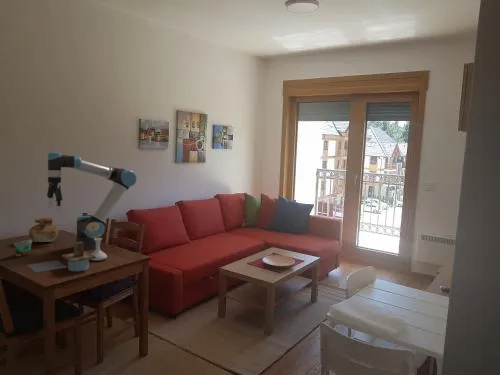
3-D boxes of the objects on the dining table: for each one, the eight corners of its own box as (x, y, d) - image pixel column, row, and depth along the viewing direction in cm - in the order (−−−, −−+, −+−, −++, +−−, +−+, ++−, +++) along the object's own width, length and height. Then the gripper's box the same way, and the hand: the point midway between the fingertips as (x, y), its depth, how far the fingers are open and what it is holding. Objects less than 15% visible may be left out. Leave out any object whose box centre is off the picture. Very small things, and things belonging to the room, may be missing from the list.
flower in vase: (108, 257, 252) (109, 220, 249) (105, 262, 241) (105, 223, 238) (88, 256, 249) (88, 220, 247) (83, 262, 238) (83, 223, 236)
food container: (22, 258, 239) (22, 243, 238) (14, 257, 240) (13, 242, 239) (36, 253, 251) (36, 238, 250) (28, 252, 252) (28, 238, 251)
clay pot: (20, 238, 274) (30, 212, 279) (43, 243, 289) (52, 218, 294) (36, 242, 265) (46, 215, 269) (58, 247, 280) (68, 222, 285)
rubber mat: (56, 260, 238) (56, 260, 238) (66, 267, 226) (66, 266, 226) (26, 265, 226) (26, 265, 226) (35, 273, 214) (35, 272, 214)
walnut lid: (85, 253, 234) (85, 238, 233) (95, 258, 225) (95, 243, 224) (62, 256, 224) (62, 241, 223) (71, 262, 215) (71, 246, 214)
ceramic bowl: (84, 264, 233) (84, 254, 232) (91, 269, 225) (91, 258, 225) (65, 268, 225) (65, 257, 224) (72, 273, 217) (72, 261, 217)
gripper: (41, 175, 246) (41, 206, 248) (55, 178, 228) (55, 212, 231) (53, 174, 251) (53, 206, 253) (68, 178, 234) (67, 211, 236)
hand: (54, 209), depth 242 cm, fingers open, 13 cm apart
